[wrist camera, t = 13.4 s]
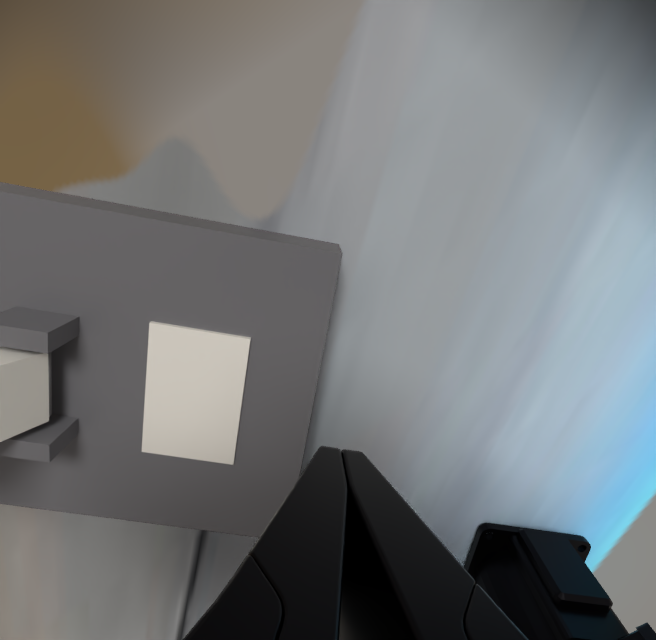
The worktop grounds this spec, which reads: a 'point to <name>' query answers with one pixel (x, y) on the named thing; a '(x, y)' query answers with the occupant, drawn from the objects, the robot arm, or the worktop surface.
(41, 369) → the breaker lever
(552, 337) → the worktop surface
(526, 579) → the robot arm
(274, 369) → the breaker block
